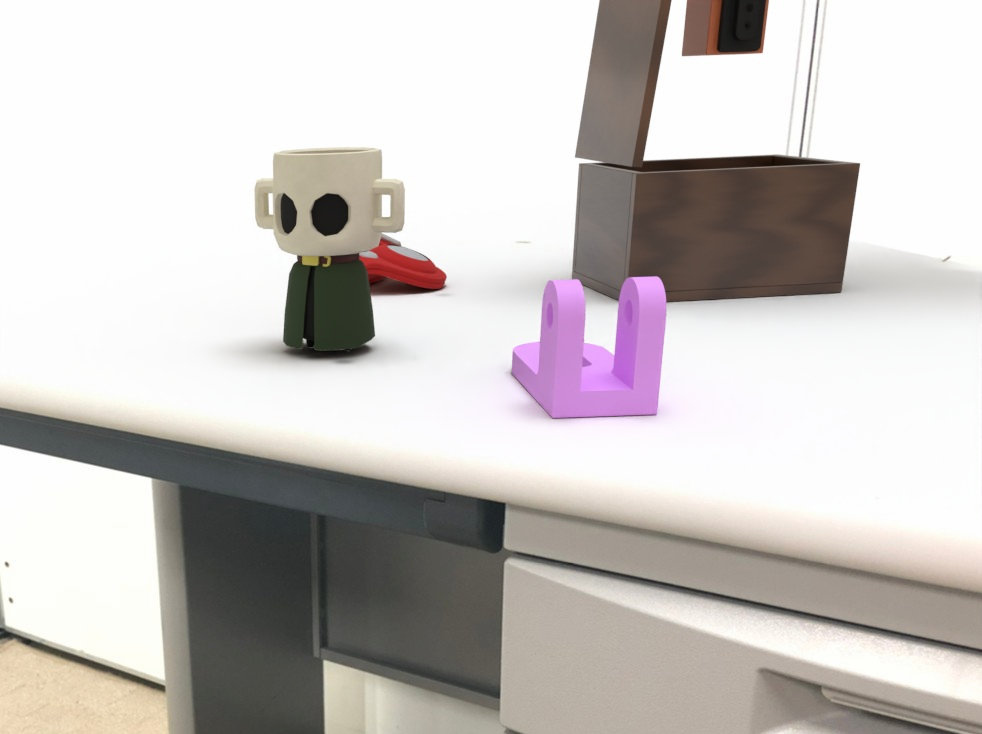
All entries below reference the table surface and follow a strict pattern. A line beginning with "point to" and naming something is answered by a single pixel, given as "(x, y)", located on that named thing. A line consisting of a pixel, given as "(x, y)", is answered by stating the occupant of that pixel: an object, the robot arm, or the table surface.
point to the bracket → (596, 353)
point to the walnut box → (716, 225)
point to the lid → (622, 80)
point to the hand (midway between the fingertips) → (722, 49)
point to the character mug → (328, 239)
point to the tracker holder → (401, 265)
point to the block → (707, 29)
